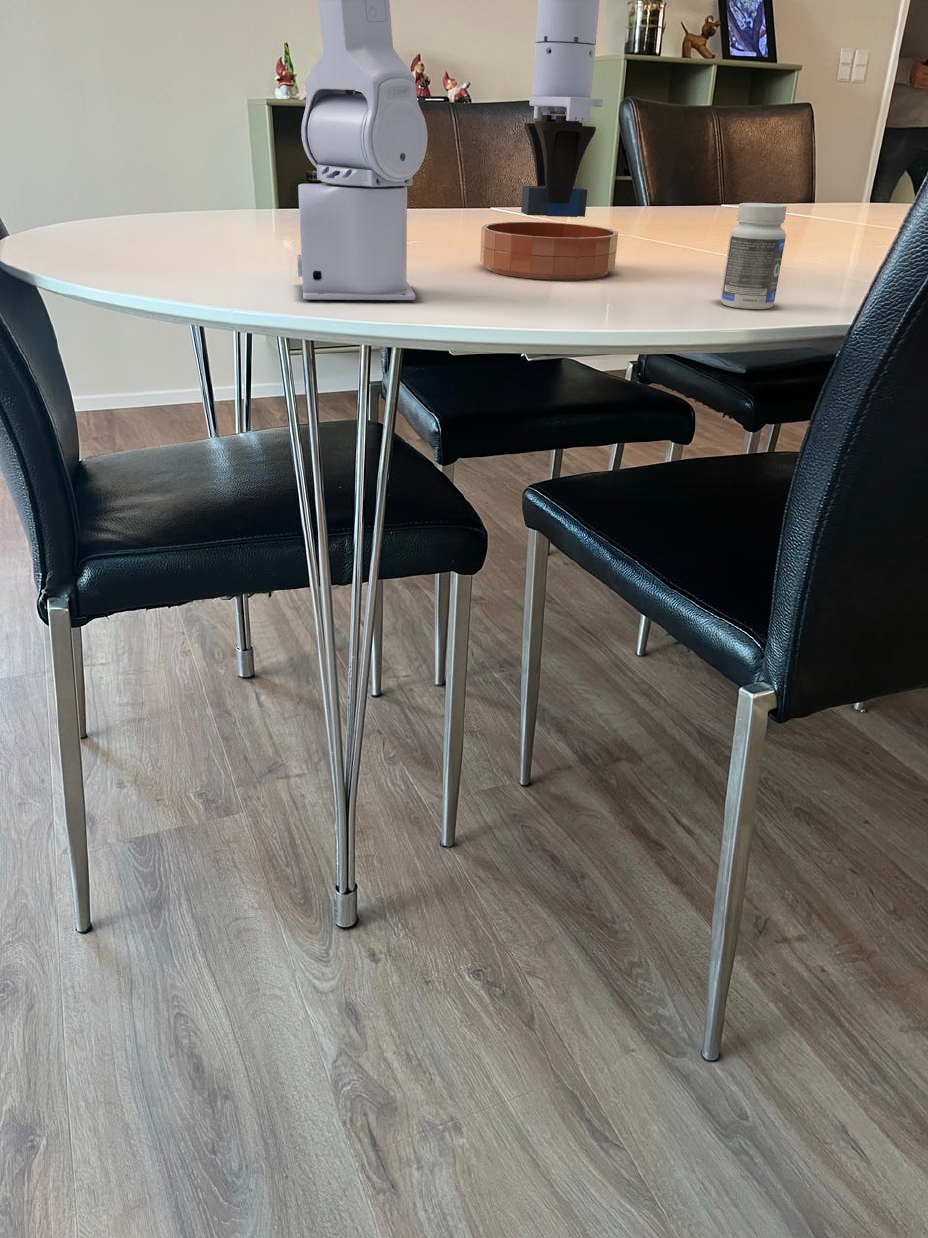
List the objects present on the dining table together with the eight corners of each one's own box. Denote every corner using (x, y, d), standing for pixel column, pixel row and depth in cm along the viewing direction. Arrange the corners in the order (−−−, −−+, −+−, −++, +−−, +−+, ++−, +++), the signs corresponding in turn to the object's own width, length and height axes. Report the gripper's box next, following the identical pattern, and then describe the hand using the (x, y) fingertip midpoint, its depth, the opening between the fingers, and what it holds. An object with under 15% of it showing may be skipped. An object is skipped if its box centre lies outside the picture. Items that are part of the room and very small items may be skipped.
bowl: (493, 280, 94) (495, 236, 92) (470, 259, 106) (472, 220, 104) (631, 281, 96) (635, 239, 94) (593, 261, 108) (596, 222, 106)
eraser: (527, 215, 96) (529, 187, 95) (520, 212, 99) (522, 184, 97) (585, 217, 97) (587, 189, 96) (577, 213, 100) (579, 186, 98)
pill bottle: (779, 310, 84) (798, 207, 80) (726, 308, 84) (742, 205, 80) (765, 301, 89) (783, 202, 85) (714, 299, 89) (729, 200, 85)
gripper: (629, 42, 85) (612, 208, 91) (585, 50, 98) (573, 195, 104) (552, 38, 84) (540, 206, 90) (518, 46, 96) (509, 193, 103)
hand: (553, 200), depth 97 cm, fingers closed on eraser, 3 cm apart
